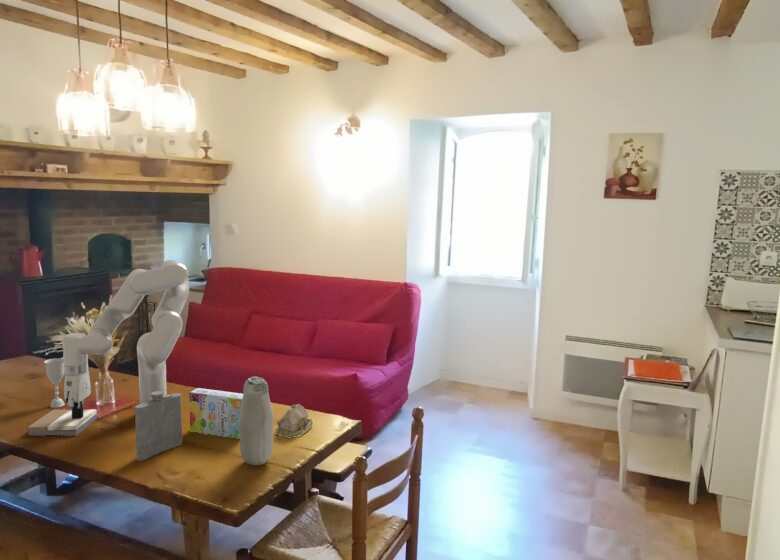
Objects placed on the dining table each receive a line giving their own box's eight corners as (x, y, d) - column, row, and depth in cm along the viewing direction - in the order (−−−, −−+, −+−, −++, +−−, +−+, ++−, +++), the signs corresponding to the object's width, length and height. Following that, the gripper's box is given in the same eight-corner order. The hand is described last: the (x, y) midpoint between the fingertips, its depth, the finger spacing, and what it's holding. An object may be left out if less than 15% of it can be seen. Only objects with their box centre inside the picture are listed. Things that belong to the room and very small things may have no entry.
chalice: (71, 402, 221) (69, 358, 218) (60, 408, 214) (57, 364, 211) (54, 401, 221) (52, 357, 219) (42, 407, 215) (39, 362, 212)
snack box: (250, 434, 197) (250, 393, 194) (241, 441, 191) (241, 399, 189) (198, 426, 202) (197, 386, 200) (188, 432, 197) (187, 391, 195)
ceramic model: (293, 441, 193) (294, 414, 191) (268, 434, 198) (268, 407, 196) (317, 427, 205) (317, 401, 203) (293, 420, 210) (293, 395, 209)
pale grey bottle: (279, 462, 177) (279, 378, 172) (251, 473, 169) (251, 385, 165) (260, 452, 183) (260, 370, 179) (233, 462, 176) (232, 377, 171)
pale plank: (96, 413, 206) (96, 409, 206) (76, 429, 191) (75, 425, 191) (70, 413, 206) (69, 409, 205) (47, 430, 191) (47, 426, 191)
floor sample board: (97, 417, 207) (97, 409, 206) (76, 435, 191) (75, 427, 191) (53, 417, 206) (53, 409, 206) (28, 435, 190) (27, 427, 190)
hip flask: (140, 461, 174) (138, 400, 171) (133, 457, 177) (130, 398, 174) (184, 444, 187) (182, 387, 185) (176, 440, 190) (175, 384, 187)
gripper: (76, 375, 188) (78, 426, 191) (96, 362, 203) (98, 410, 206) (53, 374, 188) (55, 426, 190) (75, 362, 203) (77, 410, 205)
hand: (77, 417), depth 198 cm, fingers closed
